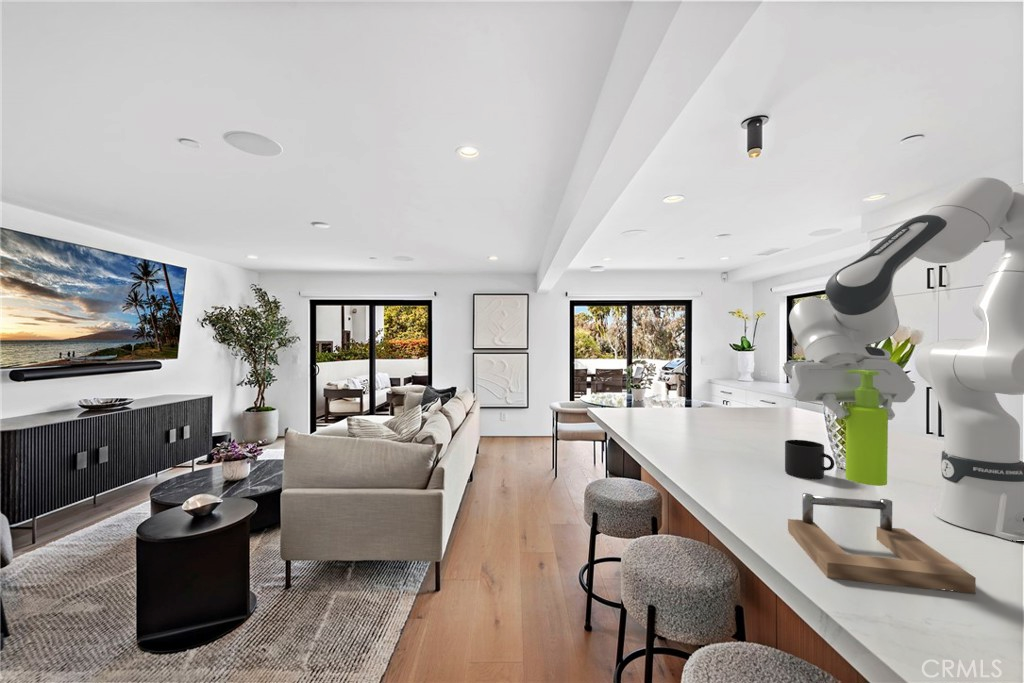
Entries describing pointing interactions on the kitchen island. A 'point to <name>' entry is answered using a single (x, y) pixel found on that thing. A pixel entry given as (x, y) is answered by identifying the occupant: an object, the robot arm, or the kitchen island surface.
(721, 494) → the kitchen island surface
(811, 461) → the mug
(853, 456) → the soap dispenser
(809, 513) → the steel rail
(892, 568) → the walnut board
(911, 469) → the kitchen island surface
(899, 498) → the kitchen island surface
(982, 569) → the kitchen island surface
